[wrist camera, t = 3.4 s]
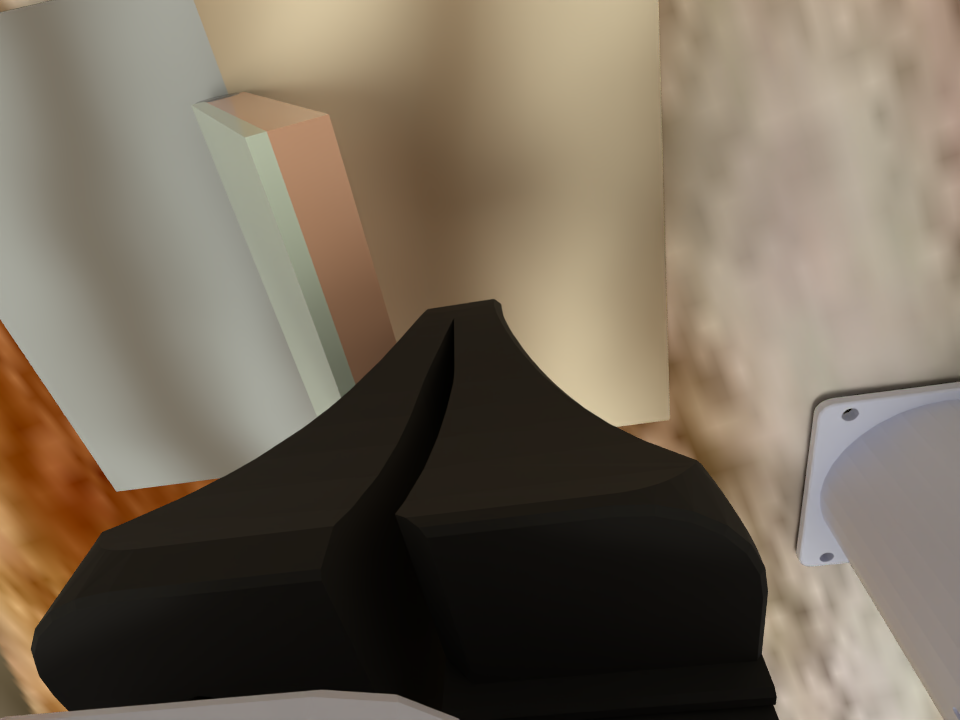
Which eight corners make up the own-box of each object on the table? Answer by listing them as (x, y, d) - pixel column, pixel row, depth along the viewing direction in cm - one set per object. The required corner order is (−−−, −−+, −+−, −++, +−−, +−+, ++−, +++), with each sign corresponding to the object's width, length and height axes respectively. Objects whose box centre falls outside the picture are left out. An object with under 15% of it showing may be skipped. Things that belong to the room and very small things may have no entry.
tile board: (639, -129, 13) (655, -140, 12) (659, 392, 21) (670, 419, 19) (-123, 47, 16) (-179, 53, 14) (137, 462, 23) (116, 491, 22)
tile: (329, 113, 9) (244, 137, 8) (456, 547, 13) (407, 575, 13) (240, 90, 15) (188, 103, 14) (350, 396, 19) (314, 412, 19)
